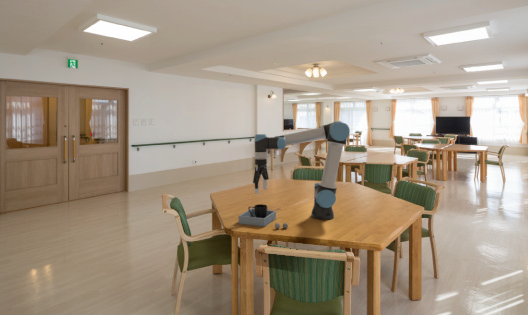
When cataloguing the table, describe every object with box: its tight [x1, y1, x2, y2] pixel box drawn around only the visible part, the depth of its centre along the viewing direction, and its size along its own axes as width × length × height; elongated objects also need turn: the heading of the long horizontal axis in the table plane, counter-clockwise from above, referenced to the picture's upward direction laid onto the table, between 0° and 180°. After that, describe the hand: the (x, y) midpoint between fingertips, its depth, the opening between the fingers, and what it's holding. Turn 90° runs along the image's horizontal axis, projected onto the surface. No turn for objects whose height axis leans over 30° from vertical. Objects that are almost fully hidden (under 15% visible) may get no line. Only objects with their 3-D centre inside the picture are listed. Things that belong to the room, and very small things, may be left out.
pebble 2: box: [282, 222, 289, 229], centre depth 195 cm, size 3×3×3 cm
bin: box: [238, 207, 277, 228], centre depth 210 cm, size 18×20×5 cm
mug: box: [248, 203, 268, 218], centre depth 209 cm, size 8×12×10 cm
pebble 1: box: [274, 222, 281, 230], centre depth 195 cm, size 3×3×3 cm
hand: (261, 191), depth 209 cm, fingers open, 13 cm apart
